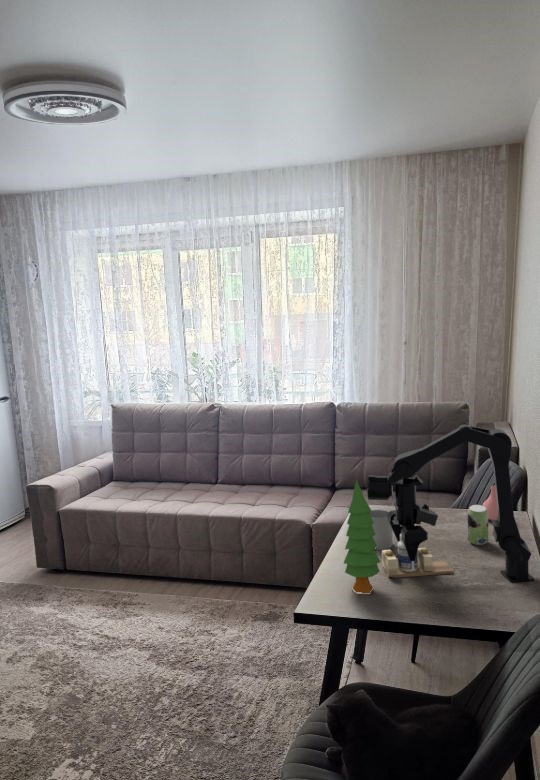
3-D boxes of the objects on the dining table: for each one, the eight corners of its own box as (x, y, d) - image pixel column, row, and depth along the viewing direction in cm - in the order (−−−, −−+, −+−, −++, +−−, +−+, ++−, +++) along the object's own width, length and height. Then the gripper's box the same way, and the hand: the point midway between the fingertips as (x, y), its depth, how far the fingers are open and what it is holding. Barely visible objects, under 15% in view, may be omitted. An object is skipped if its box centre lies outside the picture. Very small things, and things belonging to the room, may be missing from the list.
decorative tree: (345, 597, 145) (340, 482, 143) (342, 581, 155) (338, 473, 152) (383, 596, 145) (379, 481, 142) (378, 580, 154) (374, 472, 151)
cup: (390, 550, 175) (389, 518, 174) (364, 548, 178) (362, 517, 177) (394, 540, 183) (393, 510, 182) (368, 539, 186) (367, 509, 185)
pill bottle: (410, 563, 163) (409, 530, 162) (421, 570, 158) (420, 536, 157) (394, 566, 161) (393, 533, 160) (405, 573, 156) (404, 539, 155)
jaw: (433, 570, 156) (432, 554, 156) (424, 571, 156) (423, 554, 156) (425, 561, 163) (424, 545, 162) (417, 561, 163) (416, 545, 162)
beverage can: (485, 539, 180) (484, 502, 179) (492, 547, 173) (491, 509, 172) (465, 539, 181) (464, 502, 180) (470, 548, 174) (470, 509, 172)
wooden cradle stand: (453, 573, 156) (452, 552, 156) (388, 577, 155) (387, 557, 155) (444, 563, 163) (443, 543, 163) (382, 567, 162) (381, 547, 162)
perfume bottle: (507, 524, 193) (507, 489, 192) (483, 523, 195) (483, 489, 194) (503, 517, 200) (503, 483, 199) (481, 516, 202) (480, 483, 201)
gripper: (446, 508, 149) (447, 565, 150) (423, 489, 167) (425, 540, 168) (404, 510, 148) (406, 568, 149) (386, 492, 167) (388, 543, 168)
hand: (407, 554), depth 159 cm, fingers open, 9 cm apart
